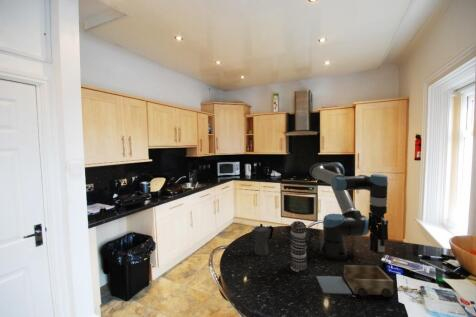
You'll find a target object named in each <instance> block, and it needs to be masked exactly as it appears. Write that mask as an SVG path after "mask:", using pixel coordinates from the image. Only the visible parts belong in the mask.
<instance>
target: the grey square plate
mask: <svg viewBox="0 0 476 317" xmlns="http://www.w3.org/2000/svg"><path fill="white" fill-rule="evenodd" d="M315 276H316V275H315ZM315 278H316V280H317V282H318V284H319V287H320V288H321V291H322V292H323V294H334V295H352V294H353V293H352V291H351V289H350V287H348V286H349V285H348V284H347V282H346V281H345V279H344V278H342V276H330V275H329V276H328V275H327V276H325V275H322V276H321V275H317V276H316V277H315Z"/></svg>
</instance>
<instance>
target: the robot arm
mask: <svg viewBox="0 0 476 317" xmlns="http://www.w3.org/2000/svg"><path fill="white" fill-rule="evenodd" d="M345 173H346V172H345V167H344V166H343V164H342V163H340V162H335V161H331V162H316V163H314V164H313V165H311V167H310V168H309V174H310V176H311V177H312V178H313V179H315V180H318V181H319V180H321V181H323V182H325V183H326V184H328V185H330V187H331V189H332V191H333V194H334V196H335V199H336V201H337V203H338V206H339V209H340V211H341V214H340V213H329V214H326V215H325V216H323V220H322V226H323V227H322V228H323V236H322V238H323V239H322V242H321V245H320V249H319V253H320V254H321V255H322V256H323V257H326V258H328V259H331V260H339V261H340V260H341V261H342V260H345V259H347V258H348V250H347V247H346V245H345V244H346V243H345V238H347V237H363V236H367V235H369V234H370V233H371V232H372V227H378V232H379V238H378V251H379V252H384V249H385V248H386V241H388V240H389V228H388V226H389V220H388V219H385V214H387V212H388V206H387V205H388V185H389V183H388V176H387V175H385V174H379V173H375V174H374V173H373V174H371V175H370V176H368V175H366V174H358V175H355V176H353V175H351V176H345ZM358 190H359V191H363V190H366V191H368V192H369V212H368V217H367V216H366V215H363V214H362V213H361V211H360V210H359V209H357V208H356V206H355V204H354V202H353V200H352V197H351V195H350V193H349V191H358ZM385 250H386V249H385ZM384 253H385V252H384Z"/></svg>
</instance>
